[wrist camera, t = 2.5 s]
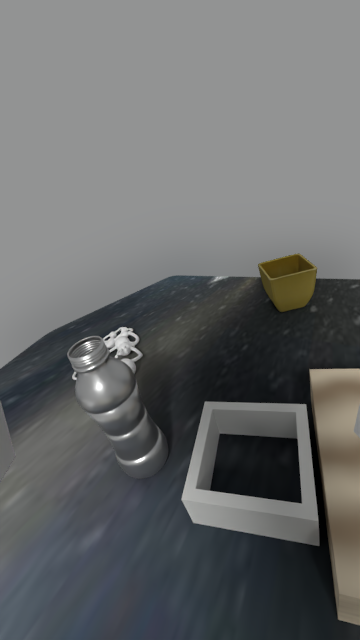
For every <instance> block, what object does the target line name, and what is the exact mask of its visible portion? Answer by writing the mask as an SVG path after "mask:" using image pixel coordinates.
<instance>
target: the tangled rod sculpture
mask: <svg viewBox="0 0 360 640" xmlns="http://www.w3.org/2000/svg"><path fill="white" fill-rule="evenodd" d="M119 330H121V333H120V334H119V335H118V336H117V334H116V333H117V332H118V331H119ZM128 330H130V331H128ZM132 331H133V329H131V328H126V327H121V328H119V329H118V330H117V331H115V332H111V333H110V334H109V335H107V336H106V337H104V338H103V341H104V343H105V345H106V347H107V348H112V349H110V350H109V351H110V353H111V352H112V351H114V350H115V349H117V350H118V351H117V354H116V355H115V358H118V355H122V356H126V355H128V354H129V353H130V352H131V350H132V351H135V352H136V353H137V354H138V356H137V357H135V358H133V359H131V360H130V359H122V360H121V361H123V362H125V363H126V364H127V365H128V366H129V367H130V368H131V369H132V370H133V373H134V374H135V372H136V365H135V363H134V362H135V361H137V360H139V359H140V358H142V356H143V355H142V353H141V352H140V351H139V350H138V349H136V348H134V347H135V345H136V344H137V343H138V342H139V337H138V336H137V335H136V334H135V333H132ZM128 335H131V336H133V337H135V338H136V341H135V342H130V340H129V339H128V338H127V337H128ZM109 336H110V338H109V339H108V341H105V339H106V338H107V337H109ZM116 336H117V337H116ZM75 375H76V372H74V374H73V376H72V378H73V379H74V380H76V379H77V378H75Z"/></svg>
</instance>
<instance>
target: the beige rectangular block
mask: <svg viewBox="0 0 360 640" xmlns="http://www.w3.org/2000/svg"><path fill="white" fill-rule="evenodd" d="M309 370H310V389H311V404H312V412H313V421H314V429H315V437H316V445H317V453H318V461H319V469H320V477H321V485H322V493H323V501H324V510H325V518H326V526H327V534H328V542H329V550H330V558H331V566H332V574H333V582H334V591H335V599H336V607H337V615H338V620H341V621H345V622H349V623H353V624H356V625H360V438H359V437H358V436H357V435H356V433H355V432H354V427H355V423H356V418H357V413H358V409H359V404H360V369H309Z"/></svg>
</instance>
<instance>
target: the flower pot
mask: <svg viewBox="0 0 360 640" xmlns="http://www.w3.org/2000/svg"><path fill="white" fill-rule="evenodd" d="M258 267H259V271H260V275H261V279H262V283H263V286H264V289H265V291H266V293H267V294H268V296H269V297H270V299H271V300H272V302H273V303H274V305H275V306H276V308H277V309H278V310H279V311H280V312H284V311H288V310H292V309H297V308H301V307H304V306H305V305H306V304H307V303H308V302H309V300H310V299H311V297H312V295H313V292H314V287H315V281H316V273H317V267H316V266H314V265H313V264H312V263H311V262H309V261H308V260H307V259H306V258H304V257H303V256H302V255H300V254H294V255H289V256H285V257H282V258H278V259H274V260H270V261H266V262H263V263H260V264H258Z"/></svg>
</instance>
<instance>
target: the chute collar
mask: <svg viewBox="0 0 360 640" xmlns="http://www.w3.org/2000/svg"><path fill="white" fill-rule="evenodd" d="M220 433H221V434H236V435H252V436H267V437H282V438H297V439H298V452H299V466H300V481H301V495H302V504H301V503H293V502H286V501H279V500H272V499H265V498H258V497H251V496H244V495H236V494H229V493H222V492H215V491H210V488H211V482H212V476H213V470H214V464H215V458H216V453H217V447H218V441H219V435H220ZM181 500H182V501H183V503H184V505H185V507H186V509H187V511H188V513H189V515H190V517H191V519H192V521H193V523H197V524H203V525H208V526H213V527H219V528H224V529H230V530H235V531H240V532H246V533H251V534H257V535H262V536H267V537H273V538H278V539H283V540H289V541H294V542H300V543H305V544H310V545H316V546H320V543H319V521H318V512H317V502H316V493H315V483H314V474H313V464H312V455H311V445H310V436H309V426H308V417H307V407H306V404H278V403H240V402H205V404H204V408H203V412H202V416H201V420H200V424H199V429H198V433H197V437H196V441H195V445H194V449H193V454H192V458H191V462H190V466H189V470H188V474H187V479H186V483H185V487H184V491H183V495H182V499H181Z"/></svg>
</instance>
